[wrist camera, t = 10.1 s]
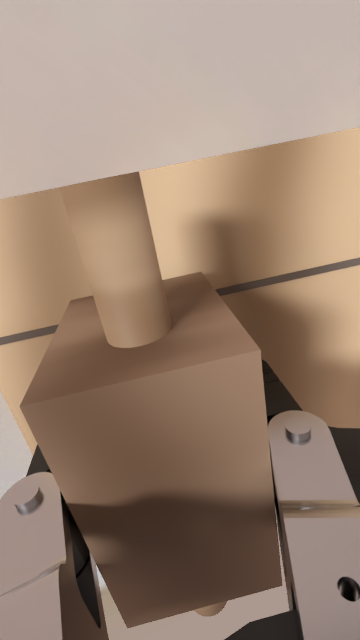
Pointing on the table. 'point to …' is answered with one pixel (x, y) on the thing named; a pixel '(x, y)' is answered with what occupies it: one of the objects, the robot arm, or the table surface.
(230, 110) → the table surface
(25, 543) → the robot arm
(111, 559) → the tan peg block
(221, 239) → the oak board
